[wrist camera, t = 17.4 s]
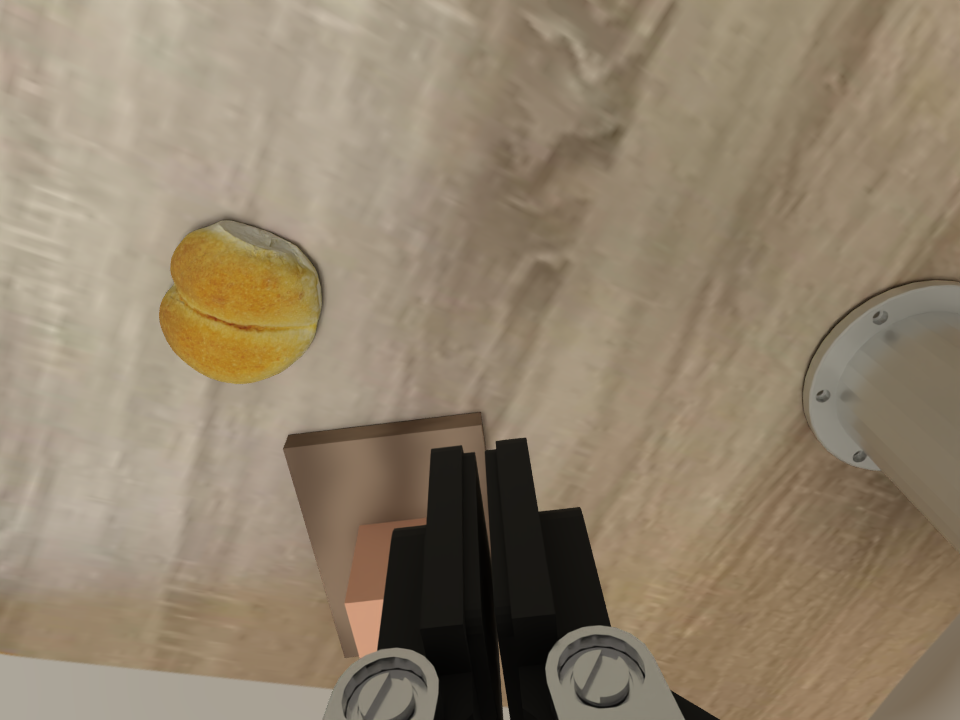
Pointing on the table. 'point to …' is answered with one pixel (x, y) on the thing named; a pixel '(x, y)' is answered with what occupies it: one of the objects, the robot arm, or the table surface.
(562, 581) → the robot arm
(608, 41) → the table surface
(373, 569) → the salmon orange block
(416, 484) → the flat brown rectangular board
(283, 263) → the bread roll
